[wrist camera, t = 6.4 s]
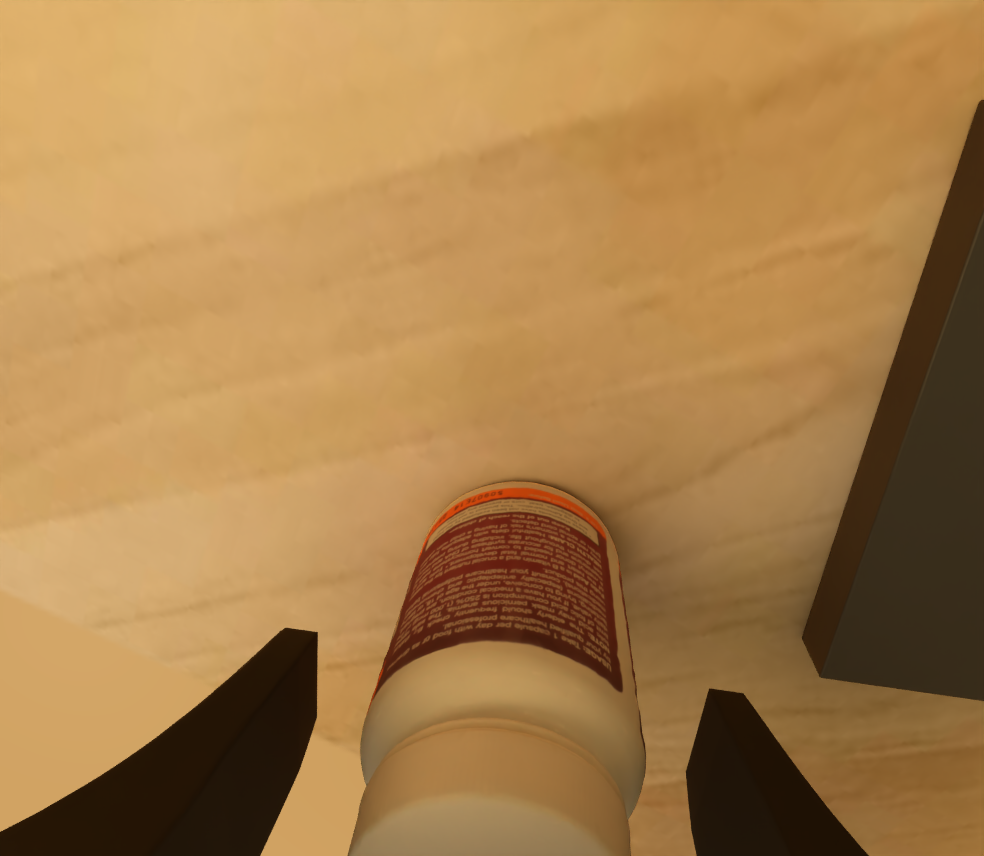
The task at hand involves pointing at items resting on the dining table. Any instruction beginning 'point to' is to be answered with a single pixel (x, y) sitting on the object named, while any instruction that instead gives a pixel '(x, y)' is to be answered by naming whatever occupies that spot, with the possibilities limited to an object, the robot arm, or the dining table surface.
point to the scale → (920, 485)
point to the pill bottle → (506, 690)
